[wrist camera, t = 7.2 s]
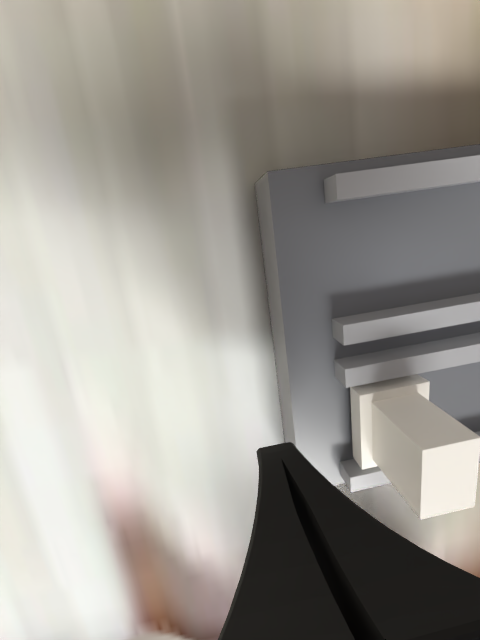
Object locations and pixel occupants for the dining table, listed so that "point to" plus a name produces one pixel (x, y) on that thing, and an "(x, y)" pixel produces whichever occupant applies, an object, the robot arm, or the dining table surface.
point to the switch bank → (371, 291)
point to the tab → (415, 445)
